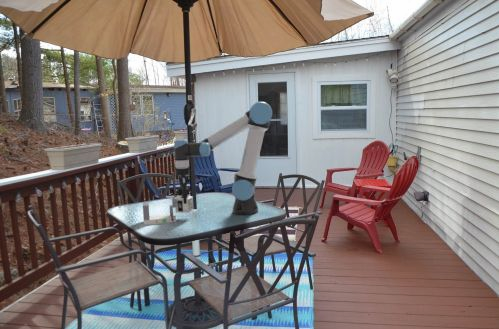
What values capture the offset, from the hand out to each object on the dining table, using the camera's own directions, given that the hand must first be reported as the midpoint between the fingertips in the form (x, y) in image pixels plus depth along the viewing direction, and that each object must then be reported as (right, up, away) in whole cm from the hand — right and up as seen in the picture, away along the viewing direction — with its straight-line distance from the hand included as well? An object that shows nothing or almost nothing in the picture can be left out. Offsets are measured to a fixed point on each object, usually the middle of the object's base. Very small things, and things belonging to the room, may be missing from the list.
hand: (184, 207), depth 211 cm
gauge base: (-13, -8, -3) cm, 15 cm away
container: (0, -2, 0) cm, 2 cm away
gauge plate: (-6, -6, -2) cm, 9 cm away
